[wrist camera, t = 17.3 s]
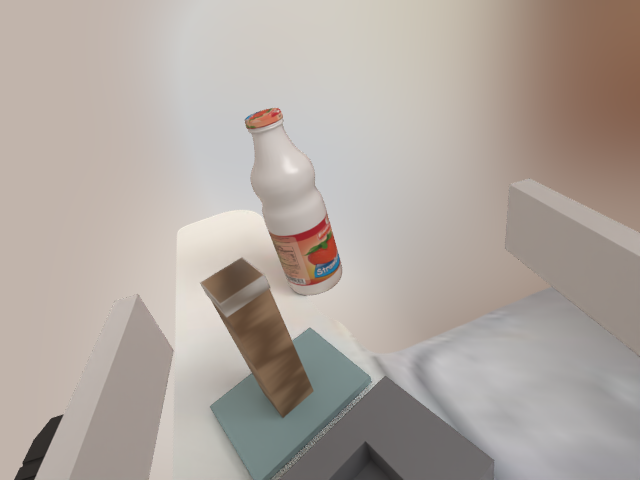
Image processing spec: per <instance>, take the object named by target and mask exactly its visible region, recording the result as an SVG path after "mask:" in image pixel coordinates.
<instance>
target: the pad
mask: <svg viewBox="0 0 640 480" xmlns="http://www.w3.org/2000/svg"><path fill="white" fill-rule="evenodd" d="M292 342H293V344H294V347H295V349H296V351H297V354H298V356H299V358H300V360H301V363H302V365H303V367H304V370H305V372H306V374H307V377H308V379H309V381H310V383H311V386H312V388H313V390H314V391H313V392H312V393H311V394H310V395H309V396H308V397H307V398H305V399H304V400H303V401H302V402H301V403H300V404H299V405H297V406H296V407H295V408H294V409H293V410H292V411H291V412H289V413H288V414H287V415H286V416H285V417H284V418H283V417H282V416H281V415H280V414H279V412H278V411H277V410H276V408H275V407H274V406H273V405H272V403H271V402H270V401H269V400H268V398H267V397H266V396H265V394H264V393H263V391H262V390H261V388H260V386H259V384H258V382H257V381H256V379H255V377H254V375H253V374H252V373H251V374H250V375H249V376H248V377H246V378H245V379H244V380H243V381H241V382H240V383H239V384H238V385H236V386H235V387H234V388H232V389H231V390H230V391H229V392H227V393H226V394H225V395H224V396H222V397H221V398H220V399H219V400H217V401H216V402H215V403H213V404H212V405H211V406H210V408H211V409H212V411H213V413H214V414H215V416H216V418H217V419H218V421H219V423H220V424H221V426H222V428H223V429H224V431H225V433H226V434H227V436H228V438H229V439H230V441H231V443H232V444H233V446H234V448H235V449H236V451H237V453H238V454H239V456H240V458H241V459H242V461H243V463H244V464H245V466H246V468H247V469H248V471H249V473H250V474H251V476H252V478H253V479H254V480H270V479H271V478H272V477H273V476H274V475H275V474H276V473H277V472H278V471H279V470H280V469H281V468H282V467H283V466H284V465H286V464H287V463H288V462H289V461H290V460H291V459H292V458H293V457H294V456H295V455H296V454H297V453H298V452H299V451H300V450H301V449H302V448H303V447H304V446H305V445H306V444H307V443H308V442H309V441H310V440H312V439H313V438H314V437H315V436H316V435H317V434H318V433H319V432H320V431H321V430H322V429H323V428H324V427H325V426H326V425H327V424H328V423H329V422H330V421H331V420H332V419H333V418H334V417H335V416H336V415H338V414H339V413H340V412H341V411H342V410H343V409H344V408H345V407H346V406H347V405H348V404H349V403H350V402H351V401H352V400H353V399H354V398H355V397H356V396H357V395H358V394H359V393H360V392H361V391H363V390H364V389H365V388H366V387H367V386H368V385H369V384H370V383H371V382H372V381H371V378H370V376H369V375H368V374H366V373H365V372H364V371H363V370H362V369H360V368H359V367H358V366H357V365H355V364H354V363H353V362H352V361H350V360H349V359H348V358H347V357H346V356H344V355H343V354H342V353H341V352H339V351H338V350H337V349H336V348H335V347H333V346H332V345H331V344H330V343H328V342H327V341H326V340H325V339H323V338H322V337H321V336H320V335H319V334H317V333H316V332H315V331H314V330H312V329H311V328H308V329H307V330H306V331H305V332H303V333H302V334H301V335H300V336H298V337H297V338H296V339H295V340H293V341H292Z"/></svg>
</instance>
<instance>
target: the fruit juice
mask: <svg viewBox="0 0 640 480" xmlns="http://www.w3.org/2000/svg"><path fill="white" fill-rule="evenodd" d="M282 123H283V115H282V113H281V111H280V109H278V108H271V109H266V110H262V111H259V112H256V113H254V114H252V115H250V116H248V117H247V118H246V119H245V124H246V128H247V129H248V131H249V132H250V133H251V134H252V137H253V141H254V149H255V162H254V166H253V168H252V172H251V184H252V187H253V190H254V192H255V193H256V195H257V196H258V198H259V199H260V200H261V202H262V205H263V207H262V212H263V217H264V220H265V224H266V227H267V229H268V231H269V234H270V236H271V239H272V241H273V244H274V247H275V249H276V252H277V254H278V257H279V259H280V262H281V265H282V267H283V270H284V272H285V275H286V277H287V280H288V282H289V284H290V286H291V288H292V289H293V290H294V291H295V292H297V293H299V294H302V295H316V294H320V293H323V292H325V291H328V290H329V289H331V288H332V287H334V286H335V285H336V284H337V283H338V282H339V280H340V278H341V275H342V265H341V262H340V258H339V254H338V251H337V247H336V243H335V240H334V236H333V232H332V229H331V225H330V222H329V218H328V214H327V211H326V207H325V204H324V201H323V198H322V196H321V194H320V192H319V191H318V189H317V188H316V187H315V172H314V168H313V165H312V163H311V161H310V159H309V158H308V157H307V156H306V155H305V154H304V153H302V152H301V151H300V150H299V149H297V148H296V147H295V145H294V144H293V143H292V141H291V140H290V138H289V137H288V135H287V134H286V132H285V130H284V127H283V124H282Z"/></svg>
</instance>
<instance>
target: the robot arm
mask: <svg viewBox="0 0 640 480" xmlns="http://www.w3.org/2000/svg"><path fill="white" fill-rule="evenodd" d="M505 249H506V250H508V251H509V252H510V253H511V254H512V255H514V256H515V257H516V258H517V259H518V260H520V261H521V262H522V263H523V264H525V265H526V266H527V267H528V268H530V269H531V270H532V271H534V272H535V273H536V274H537V275H538V276H540V277H541V278H542V279H543V280H545V281H546V282H547V283H549V284H550V285H551V286H552V287H553V288H555V289H556V290H557V291H558V292H560V293H561V294H562V295H563V296H565V297H566V298H567V299H568V300H570V301H571V302H572V303H573V304H575V305H576V306H577V307H578V308H580V309H581V310H582V311H583V312H585V313H586V314H587V315H588V316H590V317H591V318H592V319H593V320H595V321H596V322H597V323H598V324H600V325H601V326H602V327H604V328H605V329H606V330H607V331H609V332H610V333H611V334H612V335H614V336H615V337H616V338H617V339H619V340H620V341H621V342H622V343H624V344H625V345H626V346H627V347H629V348H630V349H631V350H632V351H634V352H635V353H636V354H637V355H639V356H640V233H639V232H637V231H635V230H633V229H631V228H629V227H627V226H625V225H623V224H620V223H619V222H616V221H615V220H612V219H610V218H609V217H607V216H605V215H603V214H600V213H599V212H596V211H594V210H592V209H590V208H588V207H586V206H584V205H582V204H580V203H578V202H576V201H574V200H572V199H570V198H568V197H566V196H564V195H562V194H560V193H558V192H556V191H554V190H552V189H550V188H548V187H546V186H544V185H542V184H540V183H538V182H536V181H534V180H532V179H530V178H529V179H526V180H523V181H519V182H516V183H512V184H510V185H509V198H508V211H507V225H506V240H505ZM173 351H174V350H173V348H172V347H171V345H170V344H169V342H168V341H167V339H166V337H165V336H164V334H163V333H162V331H161V329H160V328H159V326H158V325H157V324H156V322H155V320H154V318H153V317H152V315H151V314H150V312H149V311H148V309H147V307H146V306H145V304H144V303H143V301H142V299H141V298H140V296H139V295H138V294H136V295H133V296H130V297H126V298H123V299H119V300H116V301H115V302H114V304H113V306H112V309H111V310H110V313H109V315H108V317H107V320H106V322H105V324H104V326H103V328H102V330H101V333H100V335H99V337H98V340H97V342H96V344H95V346H94V348H93V350H92V353H91V355H90V357H89V359H88V362H87V364H86V366H85V369H84V371H83V373H82V375H81V377H80V380H79V382H78V384H77V386H76V388H75V391H74V393H73V395H72V397H71V399H70V402H69V404H68V406H67V409H66V411H65V413H64V414H63V415H61V416H57V417H54V418H51V419H50V421H49V422H48V423H47V424H46V426H45V427H44V428H43V429H42V431H41V432H40V433H39V434H38V435H37V437H36V438H35V439H34V441H33V443H32V445H31V447H30V449H29V451H28V453H27V455H26V457H25V459H24V461H23V467H21V468H20V469H19V471H18V473H17V475H16V477H15V479H14V480H148V479H149V475H150V469H151V464H152V459H153V454H154V448H155V444H156V439H157V433H158V427H159V423H160V418H161V413H162V408H163V402H164V397H165V392H166V387H167V382H168V376H169V372H170V366H171V361H172V356H173Z"/></svg>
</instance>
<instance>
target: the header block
mask: <svg viewBox="0 0 640 480" xmlns="http://www.w3.org/2000/svg"><path fill="white" fill-rule="evenodd" d="M279 480H494V460H493V459H492V458H490V457H489V456H488V455H487V454H485V453H484V452H483V451H481V450H480V449H479V448H478V447H476V446H475V445H474V444H472V443H471V442H470V441H469V440H467V439H466V438H465V437H463V436H462V435H461V434H460V433H458V432H457V431H456V430H455V429H453V428H452V427H451V426H449V425H448V424H447V423H446V422H444V421H443V420H442V419H440V418H439V417H438V416H437V415H435V414H434V413H433V412H431V411H430V410H429V409H428V408H426V407H425V406H424V405H422V404H421V403H420V402H419V401H417V400H416V399H415V398H413V397H412V396H411V395H410V394H408V393H407V392H406V391H404V390H403V389H402V388H401V387H399V386H398V385H397V384H395V383H394V382H393V381H392V380H390V379H389V378H388V377H386V376H385V377H384V378H383V379H382V380H381V381H379V382H378V383H377V384H376V385H375V386H374V387H373V388H372V389H371V390H370V391H369V392H368V393H367V394H366V395H365V396H364V397H363V398H362V399H361V400H360V401H359V402H358V403H357V404H356V405H355V406H354V407H353V408H352V409H351V410H350V411H349V412H348V413H347V414H346V415H345V416H344V417H343V418H341V419H340V420H339V421H338V422H337V423H336V424H335V425H334V426H333V427H332V428H331V429H330V430H329V431H328V432H327V433H326V434H325V435H324V436H323V437H322V438H321V439H320V440H319V441H318V442H317V443H316V444H315V445H314V446H313V447H312V448H311V449H310V450H309V451H308V452H307V453H306V454H304V455H303V456H302V457H301V458H300V459H299V460H298V461H297V462H296V463H295V464H294V465H293V466H292V467H291V468H290V469H289V470H288V471H287V472H286V473H285V474H284V475H283V476H282V477H281V478H280V479H279Z"/></svg>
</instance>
